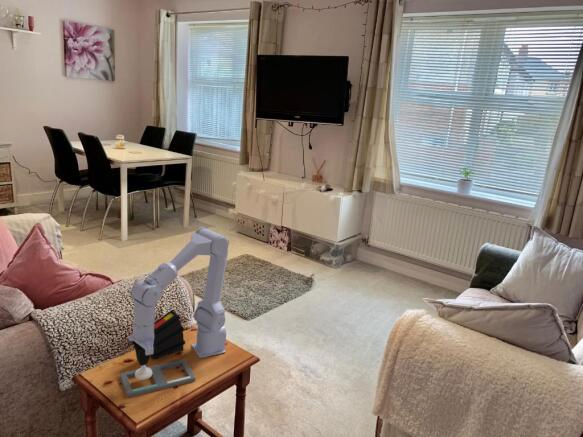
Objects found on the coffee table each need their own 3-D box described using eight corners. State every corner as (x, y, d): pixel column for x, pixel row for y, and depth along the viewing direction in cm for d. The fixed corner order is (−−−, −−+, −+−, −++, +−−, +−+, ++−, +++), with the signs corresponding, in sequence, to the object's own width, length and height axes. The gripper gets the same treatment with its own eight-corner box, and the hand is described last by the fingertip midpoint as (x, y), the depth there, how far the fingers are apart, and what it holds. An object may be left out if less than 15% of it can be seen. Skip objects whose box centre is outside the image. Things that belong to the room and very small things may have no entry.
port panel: (184, 362, 141) (185, 358, 141) (195, 380, 133) (195, 377, 133) (120, 376, 130) (120, 372, 130) (127, 397, 123) (127, 394, 122)
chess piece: (135, 369, 130) (133, 341, 127) (152, 367, 132) (151, 340, 128) (134, 380, 126) (133, 352, 123) (152, 378, 127) (151, 350, 124)
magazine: (192, 343, 149) (178, 313, 140) (159, 369, 142) (142, 339, 134) (187, 338, 151) (172, 308, 143) (154, 363, 145) (137, 333, 136)
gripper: (123, 311, 127) (122, 351, 131) (135, 337, 115) (133, 380, 119) (148, 307, 131) (146, 346, 134) (162, 332, 119) (159, 374, 123)
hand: (142, 362), depth 127 cm, fingers closed on chess piece
